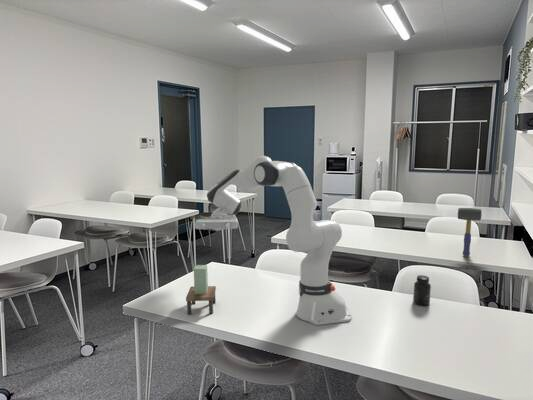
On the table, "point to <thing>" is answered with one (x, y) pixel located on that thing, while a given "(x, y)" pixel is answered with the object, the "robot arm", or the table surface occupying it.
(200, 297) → the peg shelf
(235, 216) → the robot arm
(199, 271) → the green block
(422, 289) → the supplement bottle
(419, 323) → the table surface
